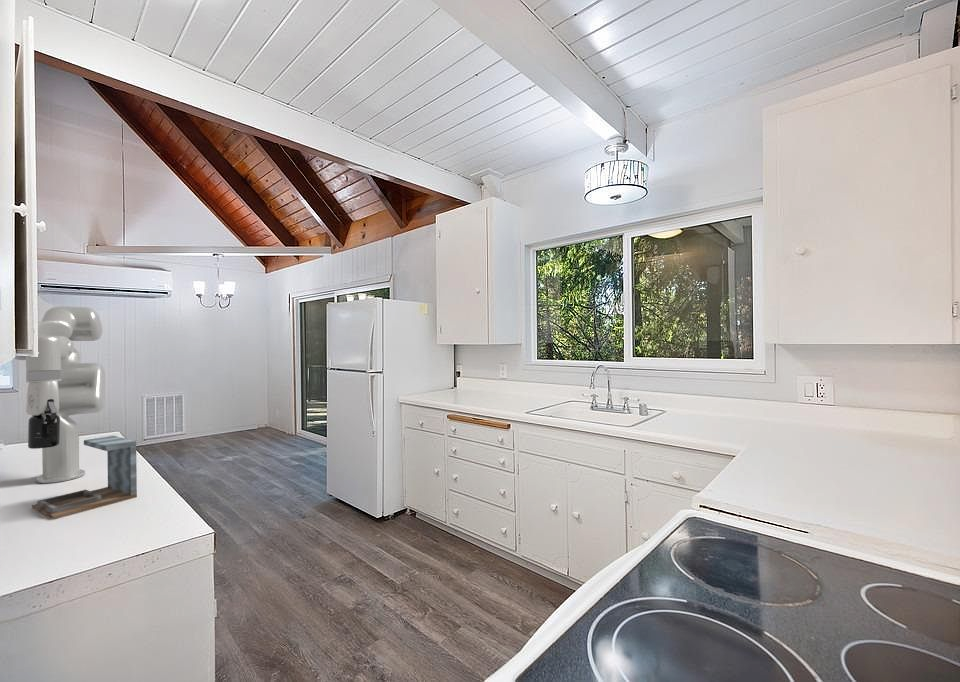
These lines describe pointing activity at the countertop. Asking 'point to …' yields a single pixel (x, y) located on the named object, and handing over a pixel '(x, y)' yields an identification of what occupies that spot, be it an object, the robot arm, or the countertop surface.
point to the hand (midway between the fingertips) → (44, 435)
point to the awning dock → (118, 489)
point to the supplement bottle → (36, 433)
